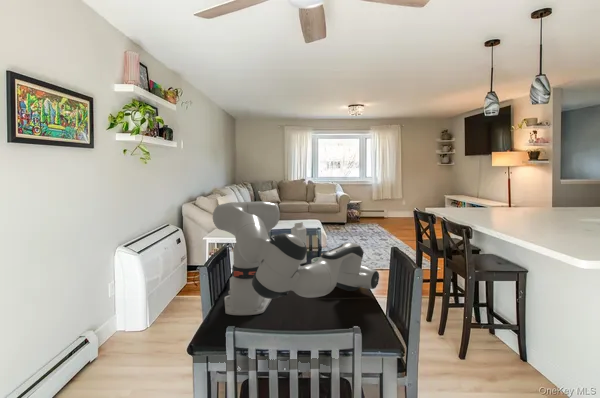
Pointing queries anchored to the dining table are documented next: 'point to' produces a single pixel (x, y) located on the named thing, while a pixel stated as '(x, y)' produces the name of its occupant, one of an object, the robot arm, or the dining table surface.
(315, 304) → the dining table surface
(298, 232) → the milk
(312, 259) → the bowl
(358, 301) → the dining table surface
